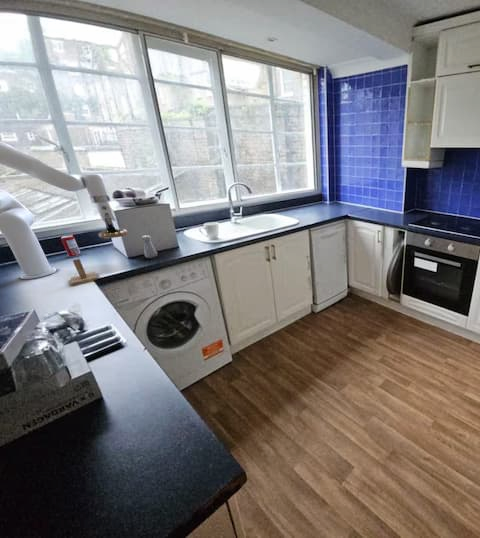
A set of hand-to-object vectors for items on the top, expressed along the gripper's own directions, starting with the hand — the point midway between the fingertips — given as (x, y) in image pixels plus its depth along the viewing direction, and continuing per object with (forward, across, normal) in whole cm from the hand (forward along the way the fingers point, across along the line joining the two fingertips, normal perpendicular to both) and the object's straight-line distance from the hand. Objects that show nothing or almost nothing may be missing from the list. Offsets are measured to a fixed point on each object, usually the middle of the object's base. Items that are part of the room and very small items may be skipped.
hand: (112, 233), depth 156 cm
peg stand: (+15, -21, +17) cm, 31 cm away
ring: (-1, -4, 0) cm, 5 cm away
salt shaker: (+15, -11, -12) cm, 22 cm away
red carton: (+15, +31, +18) cm, 39 cm away
